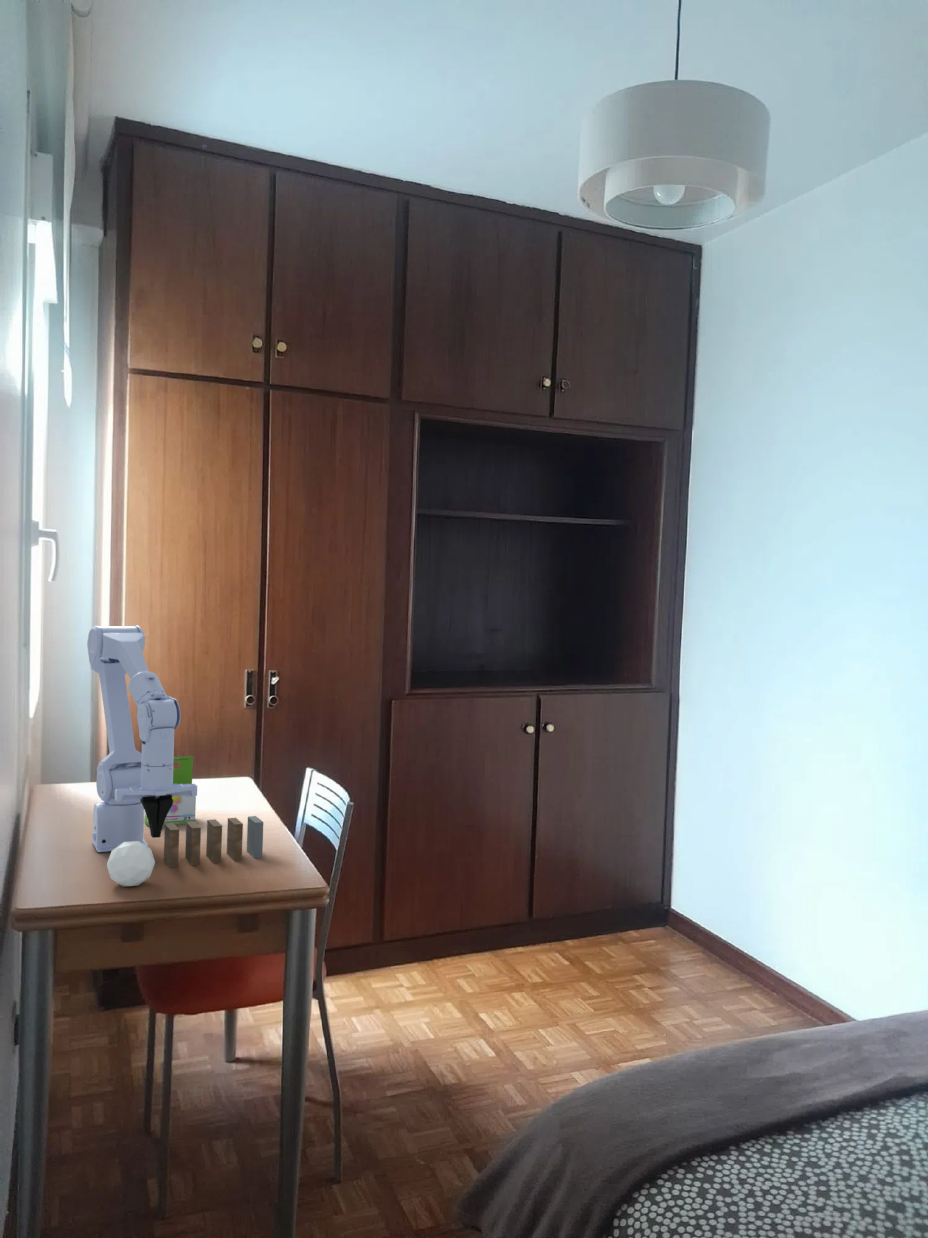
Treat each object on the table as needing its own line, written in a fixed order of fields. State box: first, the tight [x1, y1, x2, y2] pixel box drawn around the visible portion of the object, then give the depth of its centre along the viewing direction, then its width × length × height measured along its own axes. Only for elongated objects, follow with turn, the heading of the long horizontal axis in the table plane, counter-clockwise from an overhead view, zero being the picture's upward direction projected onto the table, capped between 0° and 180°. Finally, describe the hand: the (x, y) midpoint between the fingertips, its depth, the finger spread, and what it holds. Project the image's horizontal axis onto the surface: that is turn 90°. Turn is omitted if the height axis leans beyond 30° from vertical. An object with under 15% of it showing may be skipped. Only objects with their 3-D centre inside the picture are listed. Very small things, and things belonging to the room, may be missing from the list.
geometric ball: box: [106, 841, 156, 888], centre depth 168 cm, size 8×8×8 cm
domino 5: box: [246, 815, 264, 859], centre depth 188 cm, size 2×5×7 cm, turn 29°
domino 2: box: [184, 820, 202, 866], centre depth 183 cm, size 2×5×7 cm, turn 29°
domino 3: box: [205, 818, 223, 864], centre depth 185 cm, size 2×5×7 cm, turn 29°
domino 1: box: [163, 823, 180, 868], centre depth 181 cm, size 2×5×7 cm, turn 29°
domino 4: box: [226, 817, 244, 861], centre depth 186 cm, size 2×5×7 cm, turn 29°
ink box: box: [144, 755, 197, 827], centre depth 210 cm, size 10×5×14 cm, turn 114°
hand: (155, 836), depth 179 cm, fingers closed
